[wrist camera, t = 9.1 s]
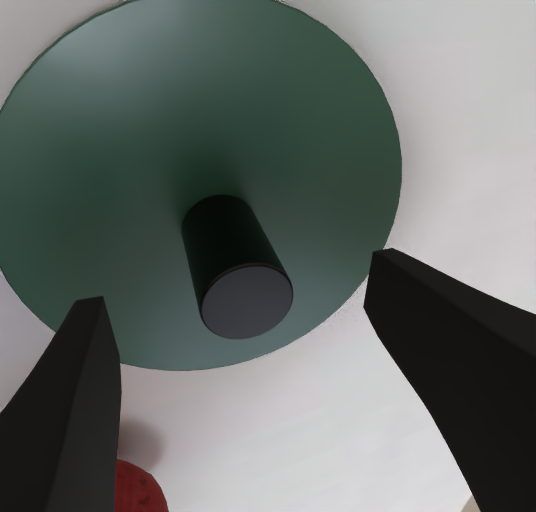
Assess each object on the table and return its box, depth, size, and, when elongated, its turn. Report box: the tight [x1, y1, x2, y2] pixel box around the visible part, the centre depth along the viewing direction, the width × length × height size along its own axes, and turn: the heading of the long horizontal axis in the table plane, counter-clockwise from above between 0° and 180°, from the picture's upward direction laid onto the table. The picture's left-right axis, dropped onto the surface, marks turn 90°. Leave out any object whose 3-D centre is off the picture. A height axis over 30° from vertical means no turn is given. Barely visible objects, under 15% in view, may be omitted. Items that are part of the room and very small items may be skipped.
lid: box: [0, 0, 402, 371], centre depth 13 cm, size 14×14×5 cm
